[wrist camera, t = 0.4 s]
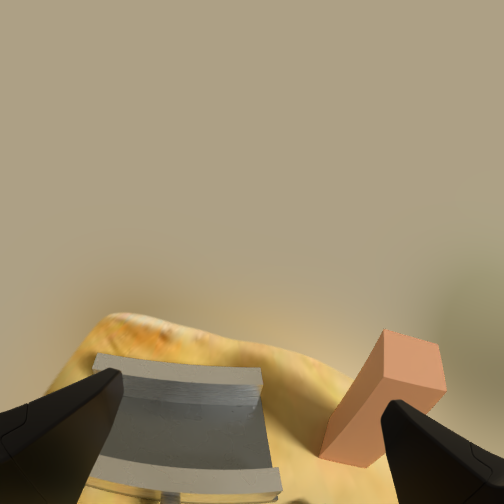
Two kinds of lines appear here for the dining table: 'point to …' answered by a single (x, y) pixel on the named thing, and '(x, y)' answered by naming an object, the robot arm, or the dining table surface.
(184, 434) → the bench vise
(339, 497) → the dining table surface
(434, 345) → the terracotta block
